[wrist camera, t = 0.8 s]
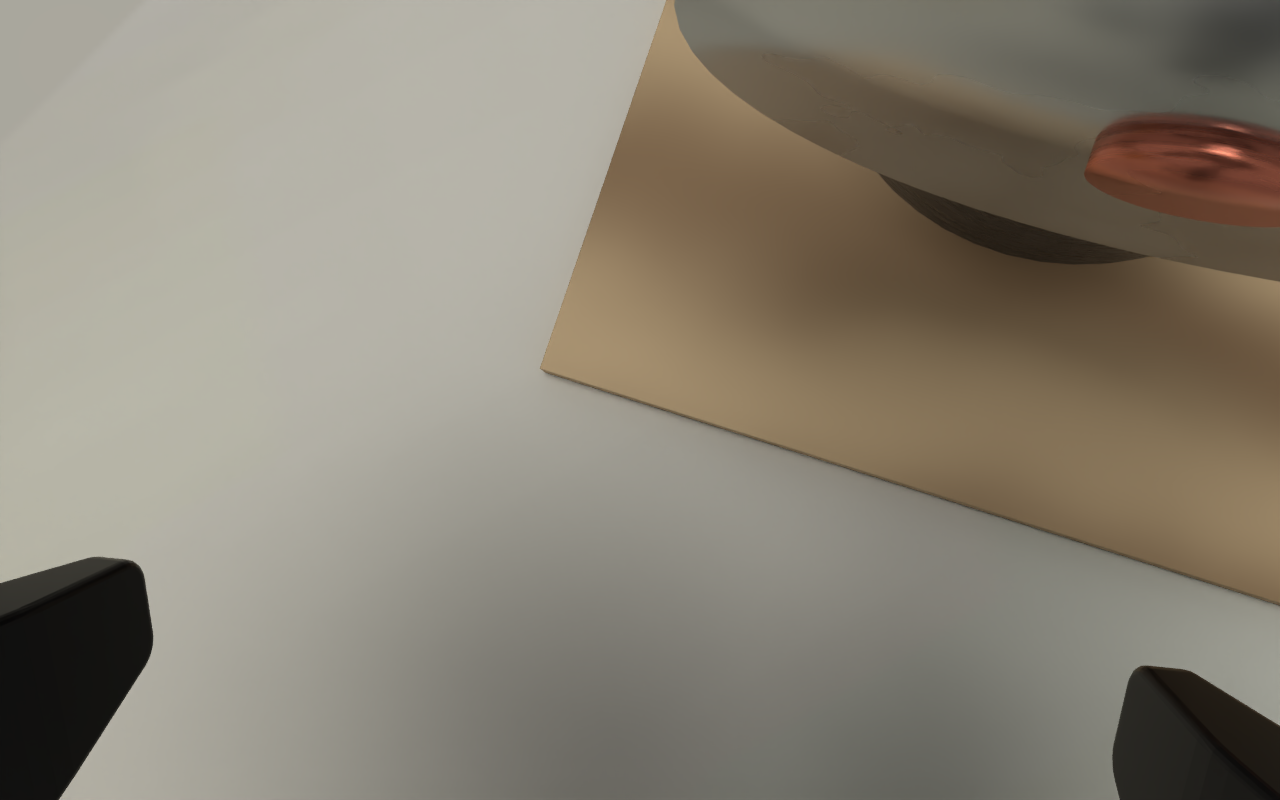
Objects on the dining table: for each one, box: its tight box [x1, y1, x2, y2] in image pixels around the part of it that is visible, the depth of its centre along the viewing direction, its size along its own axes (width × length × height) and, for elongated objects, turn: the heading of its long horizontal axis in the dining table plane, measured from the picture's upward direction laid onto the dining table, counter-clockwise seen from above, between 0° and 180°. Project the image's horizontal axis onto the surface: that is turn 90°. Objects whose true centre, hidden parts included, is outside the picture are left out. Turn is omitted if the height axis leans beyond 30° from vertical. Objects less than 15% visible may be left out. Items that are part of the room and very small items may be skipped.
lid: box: [674, 0, 1280, 282], centre depth 11 cm, size 13×13×2 cm
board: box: [540, 0, 1280, 605], centre depth 24 cm, size 24×20×1 cm
